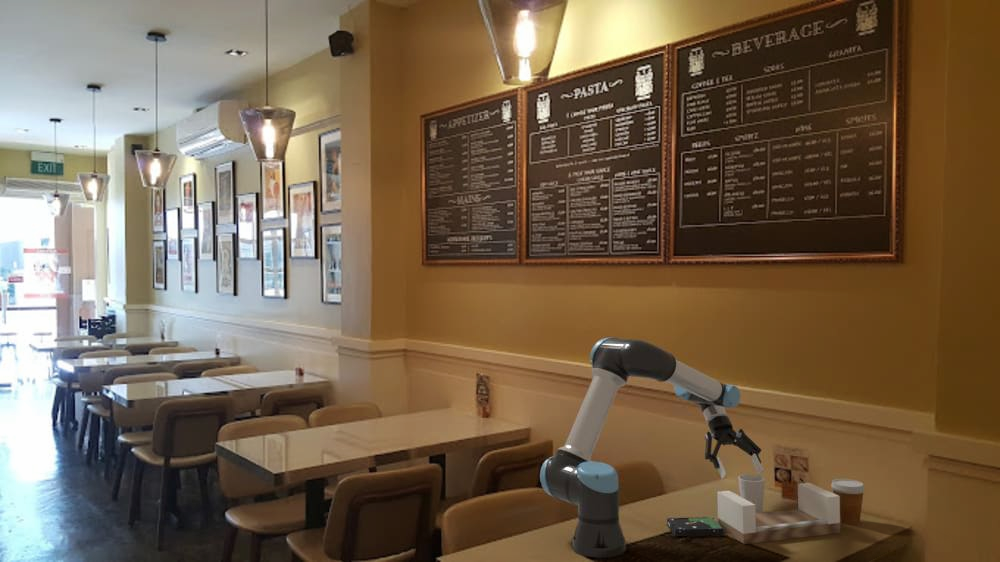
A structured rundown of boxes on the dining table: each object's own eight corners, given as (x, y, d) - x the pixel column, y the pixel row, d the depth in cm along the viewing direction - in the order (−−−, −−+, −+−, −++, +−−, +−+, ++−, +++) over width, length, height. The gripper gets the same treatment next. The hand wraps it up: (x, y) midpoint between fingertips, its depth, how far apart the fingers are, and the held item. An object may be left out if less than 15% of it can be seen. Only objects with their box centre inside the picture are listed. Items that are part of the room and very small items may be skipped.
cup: (734, 515, 225) (733, 478, 225) (746, 509, 231) (745, 472, 231) (757, 521, 219) (757, 483, 219) (769, 514, 225) (769, 477, 225)
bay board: (743, 544, 201) (743, 531, 201) (718, 527, 215) (717, 515, 215) (840, 532, 208) (840, 520, 208) (809, 517, 222) (809, 505, 222)
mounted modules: (743, 533, 201) (742, 506, 201) (717, 517, 215) (717, 491, 215) (840, 522, 208) (839, 495, 208) (809, 507, 222) (808, 482, 222)
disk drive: (674, 539, 208) (724, 537, 208) (674, 529, 208) (724, 527, 208) (666, 526, 218) (713, 524, 218) (666, 517, 218) (713, 515, 218)
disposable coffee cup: (845, 528, 212) (844, 488, 212) (824, 517, 221) (824, 479, 221) (872, 525, 214) (872, 485, 214) (851, 514, 223) (850, 477, 223)
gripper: (745, 423, 251) (771, 477, 237) (681, 429, 246) (704, 483, 231) (753, 411, 246) (780, 465, 231) (689, 416, 240) (712, 472, 226)
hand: (742, 474), depth 231 cm, fingers open, 13 cm apart
